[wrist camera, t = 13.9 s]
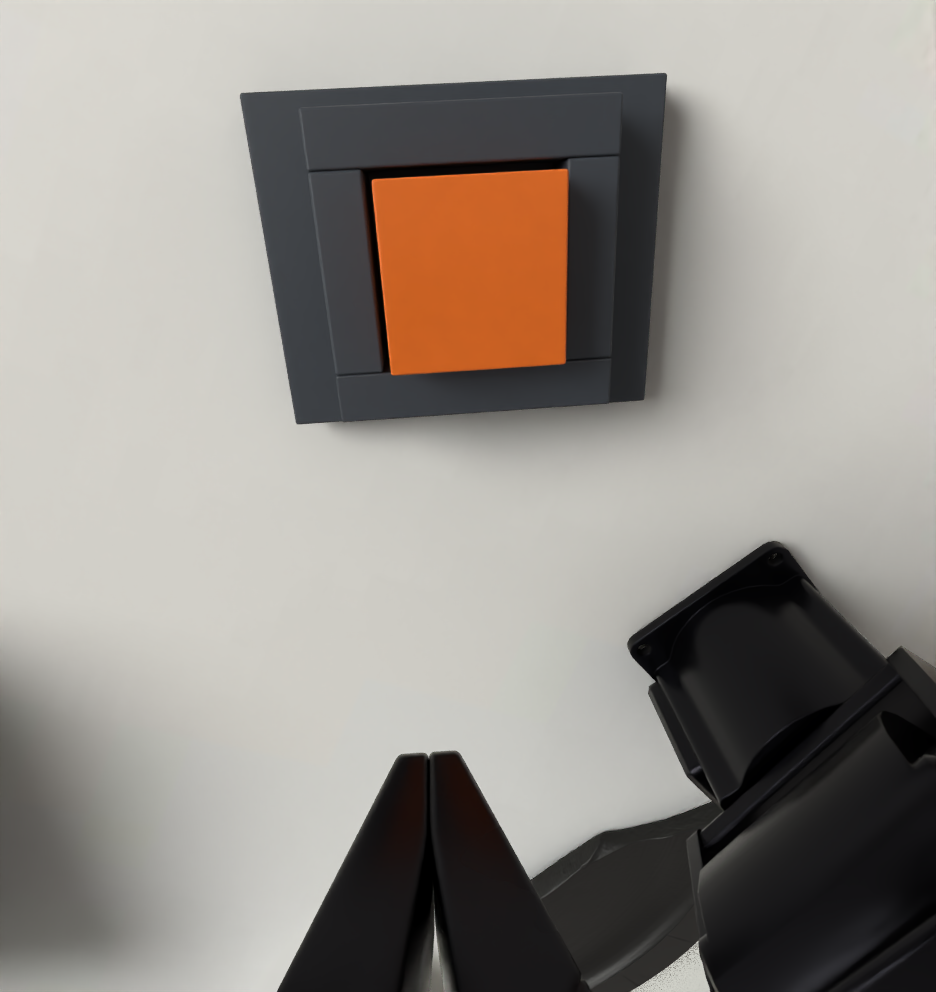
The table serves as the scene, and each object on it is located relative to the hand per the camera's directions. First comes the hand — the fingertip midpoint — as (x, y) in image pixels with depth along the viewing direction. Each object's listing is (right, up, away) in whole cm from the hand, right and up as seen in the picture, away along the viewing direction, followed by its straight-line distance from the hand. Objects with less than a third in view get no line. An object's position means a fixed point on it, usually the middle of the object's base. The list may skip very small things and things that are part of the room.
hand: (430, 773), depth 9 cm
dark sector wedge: (+8, -15, +21) cm, 27 cm away
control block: (0, +10, +9) cm, 14 cm away
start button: (+1, +9, +6) cm, 11 cm away
